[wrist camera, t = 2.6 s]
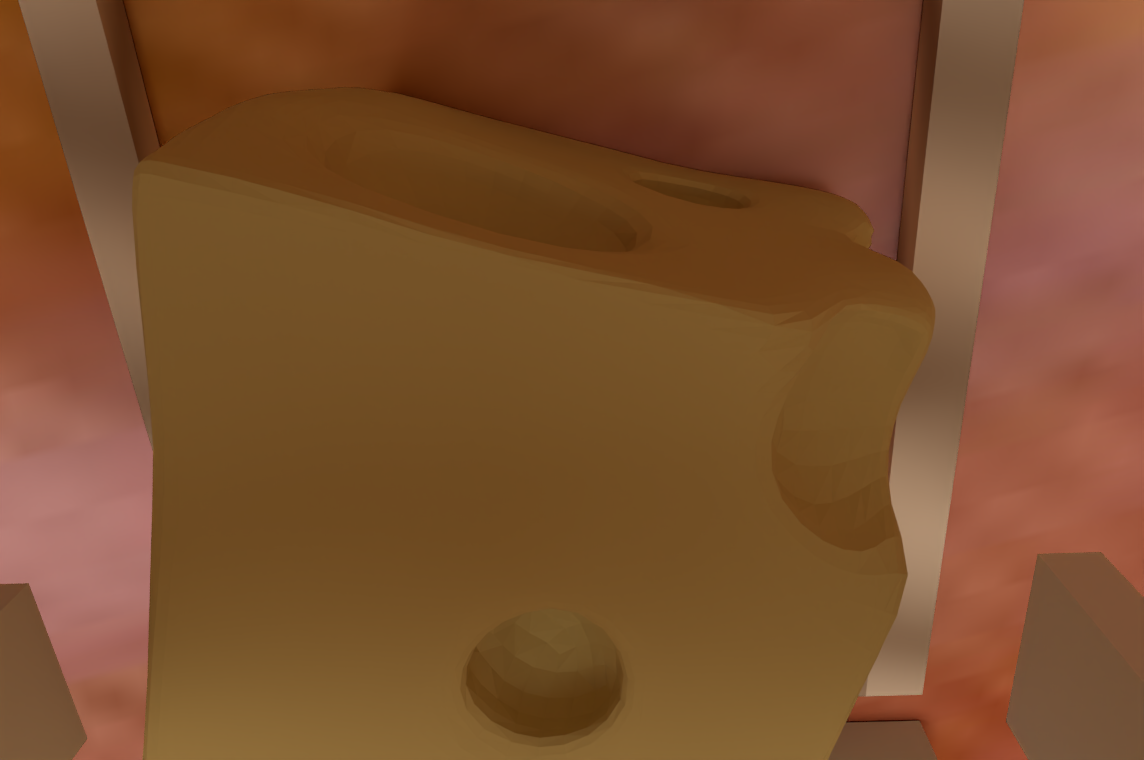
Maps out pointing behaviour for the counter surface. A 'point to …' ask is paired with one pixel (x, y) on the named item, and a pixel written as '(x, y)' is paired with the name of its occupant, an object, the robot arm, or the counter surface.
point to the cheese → (508, 443)
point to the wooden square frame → (926, 246)
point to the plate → (883, 742)
